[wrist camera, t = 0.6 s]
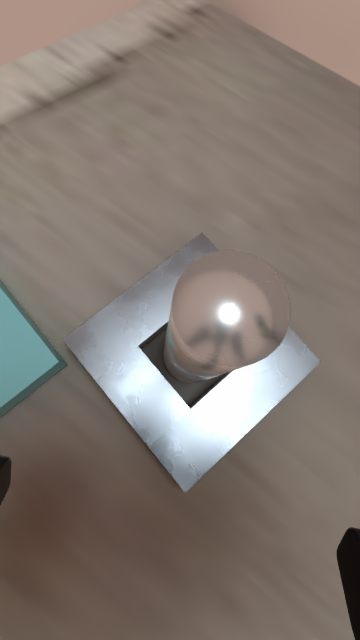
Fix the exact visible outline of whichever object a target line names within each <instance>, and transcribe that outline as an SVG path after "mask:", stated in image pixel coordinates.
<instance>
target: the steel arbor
mask: <svg viewBox="0 0 360 640" xmlns="http://www.w3.org/2000/svg"><path fill="white" fill-rule="evenodd" d="M290 319H291V304H290V299H289V295H288V292H287V289H286V287H285V285H284V283H283V281H282V280H281V278H280V277H279V275H278V274H277V273H276V272H275V270H274V269H272V268H271V267H270V266H269V265H268V264H267V263H265V262H264V261H263V260H261V259H259V258H257V257H256V256H253V255H251V254H248V253H245V252H241V251H235V250H222V251H216V252H212V253H209V254H206V255H204V256H202V257H200V258H198V259H197V260H195V261H194V262H192V263H191V264H190V265H189V266H188V267H187V268H186V269H185V270H184V271H183V273H182V274H181V276H180V277H179V279H178V281H177V283H176V286H175V289H174V292H173V297H172V303H171V309H170V315H169V321H168V326H167V332H166V338H165V344H164V350H163V360H164V364H165V366H166V368H167V370H168V371H169V373H170V374H171V375H172V376H173V377H174V378H176V379H177V380H179V381H182V382H185V383H198V382H201V381H204V380H207V379H210V378H213V377H216V376H219V375H222V374H225V373H228V372H231V371H233V370H236V369H239V368H242V367H245V366H248V365H251V364H254V363H256V362H259V361H261V360H263V359H264V358H266V357H268V356H269V355H270V354H272V353H273V352H274V351H275V350H276V349H277V348H278V347H279V345H280V344H281V343H282V341H283V340H284V338H285V336H286V334H287V331H288V328H289V324H290Z"/></svg>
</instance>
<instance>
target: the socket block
mask: <svg viewBox="0 0 360 640" xmlns="http://www.w3.org/2000/svg"><path fill="white" fill-rule="evenodd" d="M216 251H219V250H218V249H217V248H216V247H215V246H214V245H213V244H212V243H211V241H210V240H209V239H208V238H207V237H206V236H205V235H204V234H203V233H201V234H199V235H198V236H197V237H195V238H194V239H193V240H192V241H190V242H189V243H188V244H186V245H185V246H184V247H182V248H181V249H180V250H179V251H177V252H176V253H175V254H173V255H172V256H171V257H169V258H168V259H167V260H166V261H164V262H163V263H162V264H160V265H159V266H158V267H156V268H155V269H154V270H153V271H151V272H150V273H149V274H147V275H146V276H145V277H143V278H142V279H141V280H140V281H138V282H137V283H136V284H134V285H133V286H132V287H130V288H129V289H128V290H126V291H125V292H124V293H123V294H121V295H120V296H119V297H117V298H116V299H115V300H113V301H112V302H111V303H110V304H108V305H107V306H106V307H104V308H103V309H102V310H100V311H99V312H98V313H97V314H95V315H94V316H93V317H91V318H90V319H89V320H87V321H86V322H85V323H84V324H82V325H81V326H80V327H78V328H77V329H76V330H74V331H73V332H72V333H70V334H69V335H68V336H67V337H65V338H64V339H63V341H64V342H65V343H66V345H67V346H68V347H69V348H70V350H71V351H72V352H73V353H74V355H75V356H76V357H77V358H78V360H79V361H80V362H81V363H82V365H83V366H84V367H85V368H86V370H87V371H88V372H89V373H90V375H91V376H92V377H93V378H94V380H95V381H96V382H97V383H98V385H99V386H100V387H101V388H102V390H103V391H104V392H105V393H106V394H107V396H108V397H109V398H110V399H111V401H112V402H113V403H114V404H115V406H116V407H117V408H118V409H119V411H120V412H121V413H122V414H123V416H124V417H125V418H126V419H127V421H128V422H129V423H130V424H131V426H132V427H133V428H134V429H135V431H136V432H137V433H138V434H139V436H140V437H141V438H142V439H143V441H144V442H145V443H146V444H147V446H148V447H149V448H150V449H151V451H152V452H153V453H154V454H155V456H156V457H157V458H158V459H159V461H160V462H161V463H162V464H163V466H164V467H165V468H166V469H167V471H168V472H169V473H170V474H171V476H172V477H173V478H174V479H175V481H176V482H177V483H178V484H179V486H180V487H181V488H182V489H183V491H184V492H186V491H187V490H188V489H189V488H191V487H192V486H193V485H194V484H195V483H196V482H197V481H198V480H199V479H200V478H201V477H202V476H203V475H204V474H205V473H206V472H207V471H208V470H209V469H210V468H211V467H212V466H213V465H214V464H215V463H216V462H217V461H218V460H220V459H221V458H222V457H223V456H224V455H225V454H226V453H227V452H228V451H229V450H230V449H231V448H232V447H233V446H234V445H235V444H236V443H237V442H238V441H239V440H240V439H241V438H242V437H243V436H244V435H245V434H246V433H247V432H249V431H250V430H251V429H252V428H253V427H254V426H255V425H256V424H257V423H258V422H259V421H260V420H261V419H262V418H263V417H264V416H265V415H266V414H267V413H268V412H269V411H270V410H271V409H272V408H273V407H274V406H275V405H276V404H278V403H279V402H280V401H281V400H282V399H283V398H284V397H285V396H286V395H287V394H288V393H289V392H290V391H291V390H292V389H293V388H294V387H295V386H296V385H297V384H298V383H299V382H300V381H301V380H302V379H303V378H304V377H305V376H307V375H308V374H309V373H310V372H311V371H312V370H313V369H314V368H315V367H316V366H317V365H318V364H319V363H320V362H321V361H320V360H319V359H318V358H317V357H316V356H315V355H314V353H313V352H312V351H311V350H310V349H309V348H308V347H307V346H306V345H305V344H304V343H303V341H302V340H301V339H300V338H299V337H298V336H297V335H296V334H295V333H294V332H293V331H292V330H291V328H290V327H289V328H288V331H287V334H286V336H285V338H284V340H283V341H282V343H281V344H280V345H279V347H278V348H277V349H276V350H275V351H274V352H273V353H272V354H270V355H269V356H268V357H266V358H264V359H263V360H261V361H259V362H256V363H254V364H251V365H248V366H245V367H242V368H239V369H236V370H233V371H231V372H228V373H226V374H225V375H224V376H223V377H222V378H220V379H219V380H218V381H217V382H216V383H215V384H214V385H213V386H212V387H210V388H209V389H208V390H207V391H206V392H205V393H204V394H203V395H202V396H200V397H199V398H198V399H197V400H196V401H195V402H194V403H193V404H192V405H190V406H188V405H187V404H186V403H185V402H184V400H183V399H182V398H181V397H180V396H179V395H178V393H177V392H176V391H175V390H174V389H173V387H172V386H171V385H170V384H169V383H168V381H167V380H166V379H165V378H164V377H163V375H162V374H161V373H160V372H159V371H158V369H157V368H156V367H155V366H154V365H153V363H152V362H151V361H150V360H149V359H148V357H147V356H146V355H145V354H144V353H143V351H142V350H141V349H142V348H143V347H144V346H145V345H146V344H148V343H149V342H150V341H151V340H152V339H154V338H155V337H156V336H157V335H159V334H160V333H161V332H162V331H163V330H165V329H166V328H167V326H168V321H169V315H170V309H171V303H172V297H173V292H174V289H175V286H176V283H177V281H178V279H179V277H180V276H181V274H182V273H183V271H184V270H185V269H186V268H187V267H188V266H189V265H190V264H191V263H192V262H194V261H195V260H197V259H198V258H200V257H202V256H204V255H206V254H209V253H212V252H216Z"/></svg>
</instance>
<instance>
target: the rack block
mask: <svg viewBox="0 0 360 640" xmlns="http://www.w3.org/2000/svg"><path fill="white" fill-rule="evenodd" d="M66 365H67V364H66V363H65V361H64V360H63V359H62V358H61V356H60V355H59V354H58V353H57V351H56V350H55V349H54V348H53V346H52V345H51V344H50V343H49V341H48V340H47V339H46V337H45V336H44V335H43V334H42V332H41V331H40V330H39V329H38V327H37V326H36V325H35V324H34V322H33V321H32V320H31V319H30V317H29V316H28V315H27V314H26V312H25V311H24V310H23V308H22V307H21V306H20V305H19V303H18V302H17V301H16V300H15V298H14V297H13V296H12V295H11V293H10V292H9V291H8V290H7V288H6V287H5V286H4V285H3V283H2V282H1V281H0V417H2V416H3V415H4V414H5V413H7V412H8V411H9V410H10V409H12V408H13V407H14V406H16V405H17V404H18V403H19V402H21V401H22V400H23V399H24V398H26V397H27V396H28V395H30V394H31V393H32V392H33V391H35V390H36V389H37V388H38V387H40V386H41V385H42V384H43V383H45V382H46V381H47V380H49V379H50V378H51V377H52V376H54V375H55V374H56V373H57V372H59V371H60V370H61V369H62V368H64V367H65V366H66Z"/></svg>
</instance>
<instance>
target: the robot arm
mask: <svg viewBox="0 0 360 640" xmlns="http://www.w3.org/2000/svg"><path fill="white" fill-rule="evenodd" d="M10 480H11V459H10V458H9V457H6V456H1V455H0V505H1V503H2V501H3V499H4V497H5V495H6V493H7V491H8V489H9V486H10ZM337 561H338V566H339V571H340V575H341V580H342V585H343V589H344V594H345V599H346V604H347V608H348V613H349V618H350V622H351V626H352V630H353V634H354V637H355V640H360V529H358V528H353V527H350V528H348V529H347V530H346V532H345V534H344V536H343V538H342V540H341V542H340V544H339V546H338V548H337Z"/></svg>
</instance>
